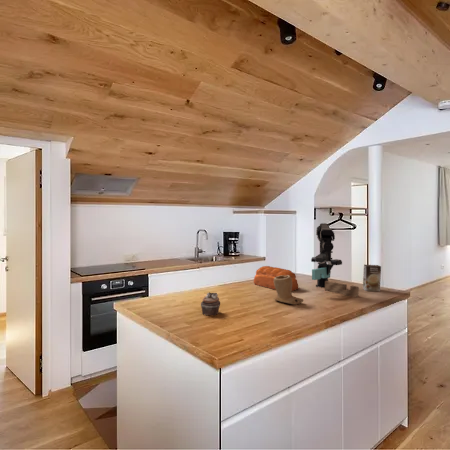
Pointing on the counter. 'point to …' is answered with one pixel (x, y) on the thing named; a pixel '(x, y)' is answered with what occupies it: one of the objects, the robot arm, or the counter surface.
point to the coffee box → (372, 278)
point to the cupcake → (210, 304)
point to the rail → (341, 288)
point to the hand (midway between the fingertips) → (325, 274)
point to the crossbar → (319, 273)
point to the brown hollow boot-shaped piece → (285, 290)
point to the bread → (268, 274)
